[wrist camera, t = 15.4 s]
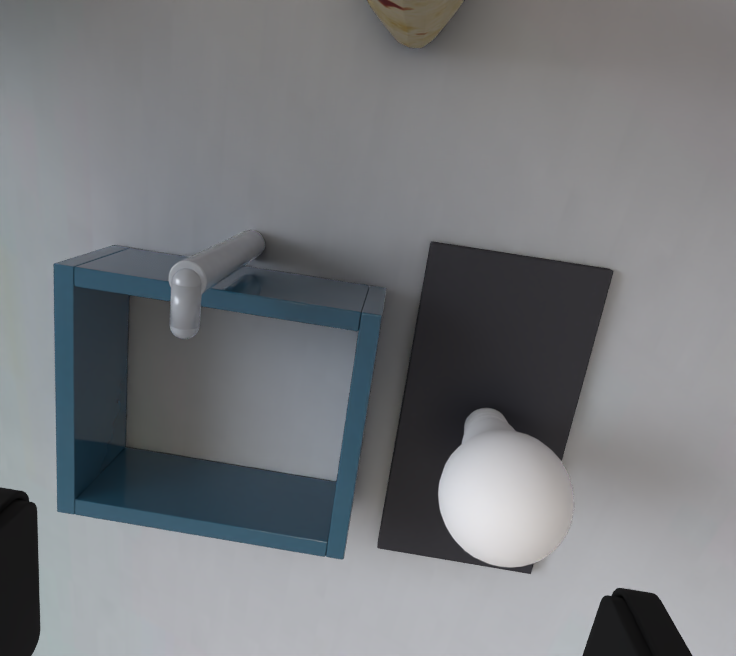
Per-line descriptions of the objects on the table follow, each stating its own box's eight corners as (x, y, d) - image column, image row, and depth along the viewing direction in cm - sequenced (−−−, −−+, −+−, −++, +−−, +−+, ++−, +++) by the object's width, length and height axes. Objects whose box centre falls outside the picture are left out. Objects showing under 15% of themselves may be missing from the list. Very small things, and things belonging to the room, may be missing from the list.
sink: (110, 457, 38) (1, 568, 28) (114, 208, 33) (-16, 232, 23) (353, 498, 38) (332, 625, 27) (392, 251, 33) (384, 295, 23)
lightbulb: (551, 446, 35) (612, 572, 24) (456, 481, 36) (475, 616, 25) (513, 357, 33) (561, 450, 23) (415, 396, 35) (418, 503, 24)
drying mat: (377, 542, 38) (377, 548, 38) (430, 241, 33) (431, 242, 32) (529, 568, 38) (531, 574, 38) (610, 268, 32) (614, 270, 32)
